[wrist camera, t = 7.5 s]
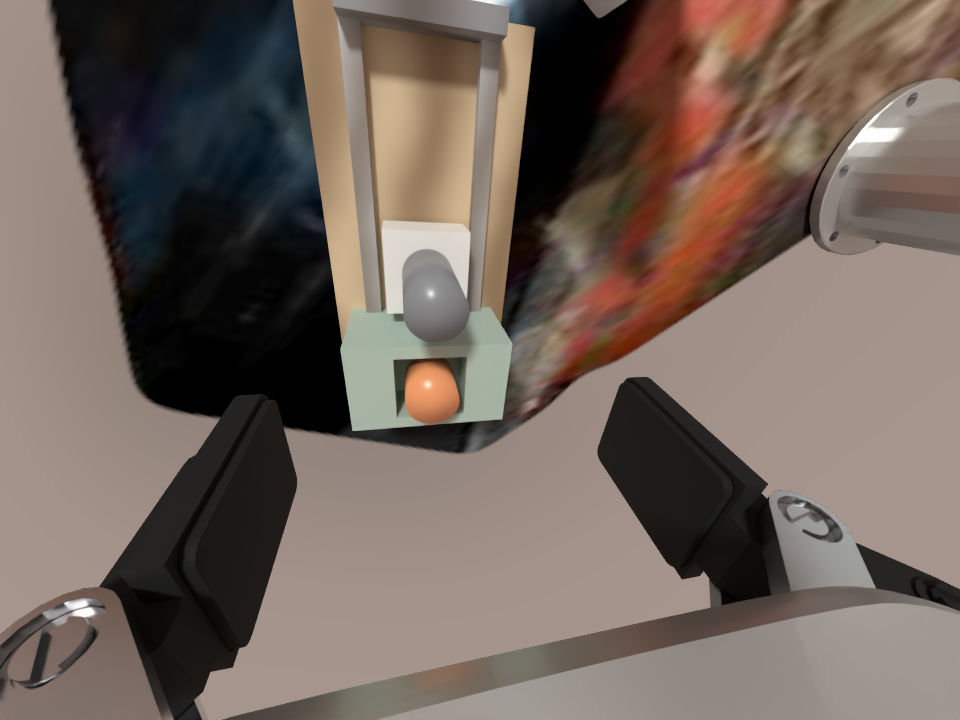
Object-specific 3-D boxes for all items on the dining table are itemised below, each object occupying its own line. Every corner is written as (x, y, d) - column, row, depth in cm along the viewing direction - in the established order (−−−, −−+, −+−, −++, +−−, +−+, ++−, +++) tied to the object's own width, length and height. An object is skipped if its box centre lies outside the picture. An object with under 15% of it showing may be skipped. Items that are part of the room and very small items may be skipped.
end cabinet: (486, 300, 27) (512, 343, 21) (480, 364, 30) (502, 419, 24) (349, 300, 25) (332, 349, 19) (357, 369, 28) (346, 431, 22)
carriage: (462, 223, 22) (495, 259, 15) (459, 296, 25) (485, 358, 17) (383, 220, 21) (375, 256, 14) (388, 296, 24) (383, 362, 16)
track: (526, 35, 20) (548, 14, 17) (491, 363, 31) (501, 386, 28) (298, -4, 17) (277, -36, 14) (349, 369, 28) (344, 395, 25)
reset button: (453, 353, 22) (460, 379, 20) (452, 393, 24) (458, 421, 21) (403, 355, 22) (404, 381, 19) (405, 396, 23) (406, 425, 21)
